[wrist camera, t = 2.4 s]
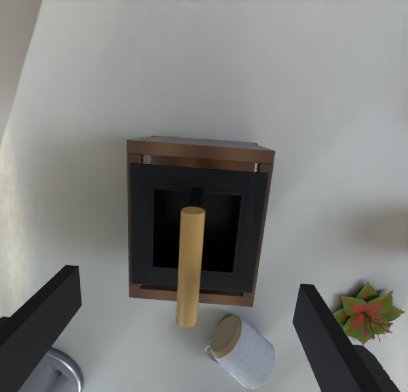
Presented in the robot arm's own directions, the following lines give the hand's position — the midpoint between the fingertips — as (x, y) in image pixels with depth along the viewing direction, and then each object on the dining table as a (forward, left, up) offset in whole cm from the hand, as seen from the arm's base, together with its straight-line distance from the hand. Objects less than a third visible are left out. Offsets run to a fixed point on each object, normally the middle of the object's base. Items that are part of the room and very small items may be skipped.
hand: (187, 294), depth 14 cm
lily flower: (+28, -18, -23) cm, 41 cm away
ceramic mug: (+7, -25, -23) cm, 35 cm away
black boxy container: (0, 0, -16) cm, 16 cm away
